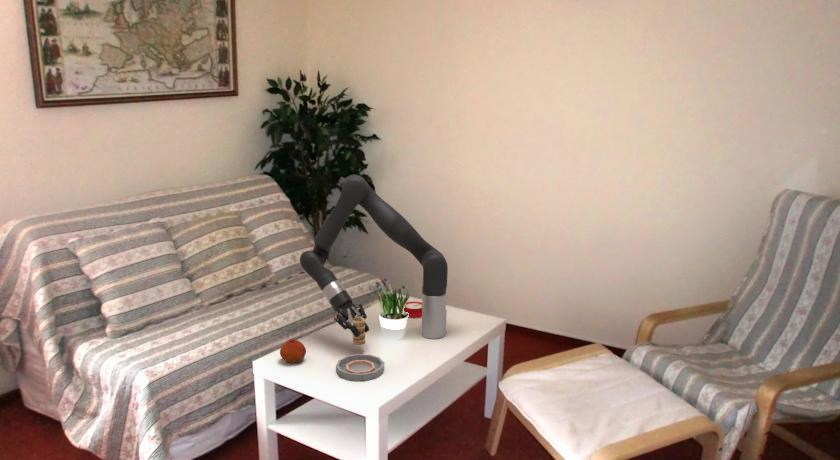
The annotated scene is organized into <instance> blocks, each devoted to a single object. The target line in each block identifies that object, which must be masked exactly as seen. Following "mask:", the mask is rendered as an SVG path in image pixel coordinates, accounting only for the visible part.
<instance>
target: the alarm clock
mask: <svg viewBox="0 0 840 460" xmlns="http://www.w3.org/2000/svg"><path fill="white" fill-rule="evenodd" d="M405 303H406V305H405V308H404V311H405V312H408V313H409V317H410V318H411V319H419V318H422V301H421V302H420V301H407V302H405ZM409 317H408V318H409Z"/></svg>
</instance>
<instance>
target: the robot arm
mask: <svg viewBox="0 0 840 460" xmlns="http://www.w3.org/2000/svg"><path fill="white" fill-rule="evenodd" d="M358 205H359V206H360V207H361V208H362V209H364V211H366V212H367V214H368V215H369V216H370V218H371V219H372V220H373V221H374V222H375V224H376V226H377V227H378V228H379V229H380V230H381V231H382V232H383V233H384V234H385V235H386V236H387V237H388V238H389V239H390V240H391V241H393V242H394V243H395V244H396V245H398V246H400V247H402V248H403V249H405V250H407V251H408V252H409V253H410V254H411V255H412V256H413V257H414V258H415V259H416V260H417V262H419V264H420V265H421V266H422V270H423V271H422V275H423V276H422V287H421V302H422V317H421V336H422V337H424V338H426V339H432V340H435V339H436V340H437V339H441V338H443V337H445V336H446V334H447V318H448V317H447V316H448V315H447V311H448V310H447V309H446V308H447V288H448V287H447V286H448V270H449V269H448V262H447V260H446V258H445V255H444V254H443V253H442V252H441V251H439V250H438V249H436V248H435V247H434V246H432V245H431V243H429V242H427V241H426V240H425V239H424V238H423V237H422V236H421V235H420V234H419V233H418V232H419V231H417V230H416V229H415V227H414V226H413V225H411V223H410V222H409V221H408V220H407V219H406V218H405V217H404V216H403V215H402V214H401V213H400V212H399V211H397V210H396V209H395V208H394V207H393V206H391V205H390V204H389V203H387V202H386V201H385V200H384V199H382V197H380V196H379V194H377V192H376V191H374V189H373V188H372V187H371V186H370V184H369V183H368V182H367V181H366V180H365V178H364V177H362V176H361V175H358V174H350V175H348V176H346V177H345V178H344V180H343V182H342V186H341V192H340V195H339V197H338V200H337V202H336V204H335V206H334V208H333V209H332V211H331V212H330V213H329V214H328V217H327V218H326V219H325V220H324V222H323V223H322V225H321V227H320V228H319V230H318V232H317V233H316V235H315V237H314V240H313V242H314V247H313V249H312V250H306V251H303V252H302V253H301V254H300V257H299V262H300V266H301V268H302V269H303V270H304V271H305V273H306V274H307V275H308V276H309V277H310V278H312V279H313V280H314V281H315V282H316V283H317V286H318V287H319V288H320V290H321V292H322V293H323V295H324V297H325V298H326V300H327V302H328V303H329V304H330V306H331V307H332V309H333V310H334V312H337V314H336V315H335V316H334V317H333V319H334V321H335V322H337V324H338V325H339V326H341V328H343V329H344V330H350V332H351V333H352V335H353V334H354V336H356V337H358V336H359V335H360V332H359V331H358V329H357V328H356V326H354V323H353V319H354V318H357V317H361V318H364V319H365V320H366V319H367V318H368V316H367V314H366V310H365V308H364V306H363V305H362V303H359V304H358V305H356V304H355V303H353V300H352V299H353V298H352V297H351V296H350V294H349V292H348V291H347V290H346V289H345V287H344V285H343V284H342V283H341V282H340V281H339V280H338V278H337V277H336V275H335V274H334V272H333V271H332V270H331V269H329V268H327V267H325V266H324V265H325V263H326V262H327V260H328V258H329V255H330V251H331V248H332V247H333V245H334V243H335V242H336V240H337V238H338V237H339V235H340V233H341V231H342V229H343V228H344V226H345V224H346V222H347V220H348V219H349V217H350V215H351V214H352V213H353V212H354V210H355V209H356V208H357V206H358ZM369 330H370V327H369V325H368V324H367V322H366V321H365V330H364V331H365V334H366V333H368V332H369Z"/></svg>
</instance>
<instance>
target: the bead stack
mask: <svg viewBox="0 0 840 460" xmlns="http://www.w3.org/2000/svg"><path fill="white" fill-rule="evenodd" d="M365 322H366V319H364V318H361V317H357V318H354V319H353V323H354V326H356V328H357V329H358V331H359V332H360V335H359V336H358V337H356V336H354V334H353V333H352V343H353V345H355V346H362V345H365V344H366V333H365V331H364V330H365Z"/></svg>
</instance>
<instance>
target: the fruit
mask: <svg viewBox="0 0 840 460" xmlns="http://www.w3.org/2000/svg"><path fill="white" fill-rule="evenodd" d="M306 353H307V350H306V347H305V345H304V343H303V342H301V341H299V340H297V339H293V338H290V339H288V340H287V341H285V342H284V343H283V344H282V345H281V346H280V350H279V354H280V356H281V359H282V360H283V361H284V362H286V363H290V364H292V363H297V362H300V361H301V360H303V359H304V358H305V356H306Z"/></svg>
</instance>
